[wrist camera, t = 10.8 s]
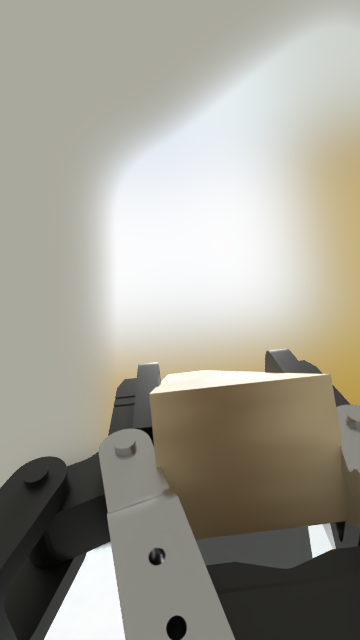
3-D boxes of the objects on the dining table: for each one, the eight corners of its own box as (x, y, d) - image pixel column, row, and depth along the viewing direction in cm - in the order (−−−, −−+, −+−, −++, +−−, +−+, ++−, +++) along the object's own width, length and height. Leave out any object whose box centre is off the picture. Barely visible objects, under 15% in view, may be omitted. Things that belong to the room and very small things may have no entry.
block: (163, 544, 7) (149, 394, 7) (171, 402, 36) (168, 374, 37) (354, 519, 7) (330, 374, 7) (207, 398, 37) (204, 370, 37)
